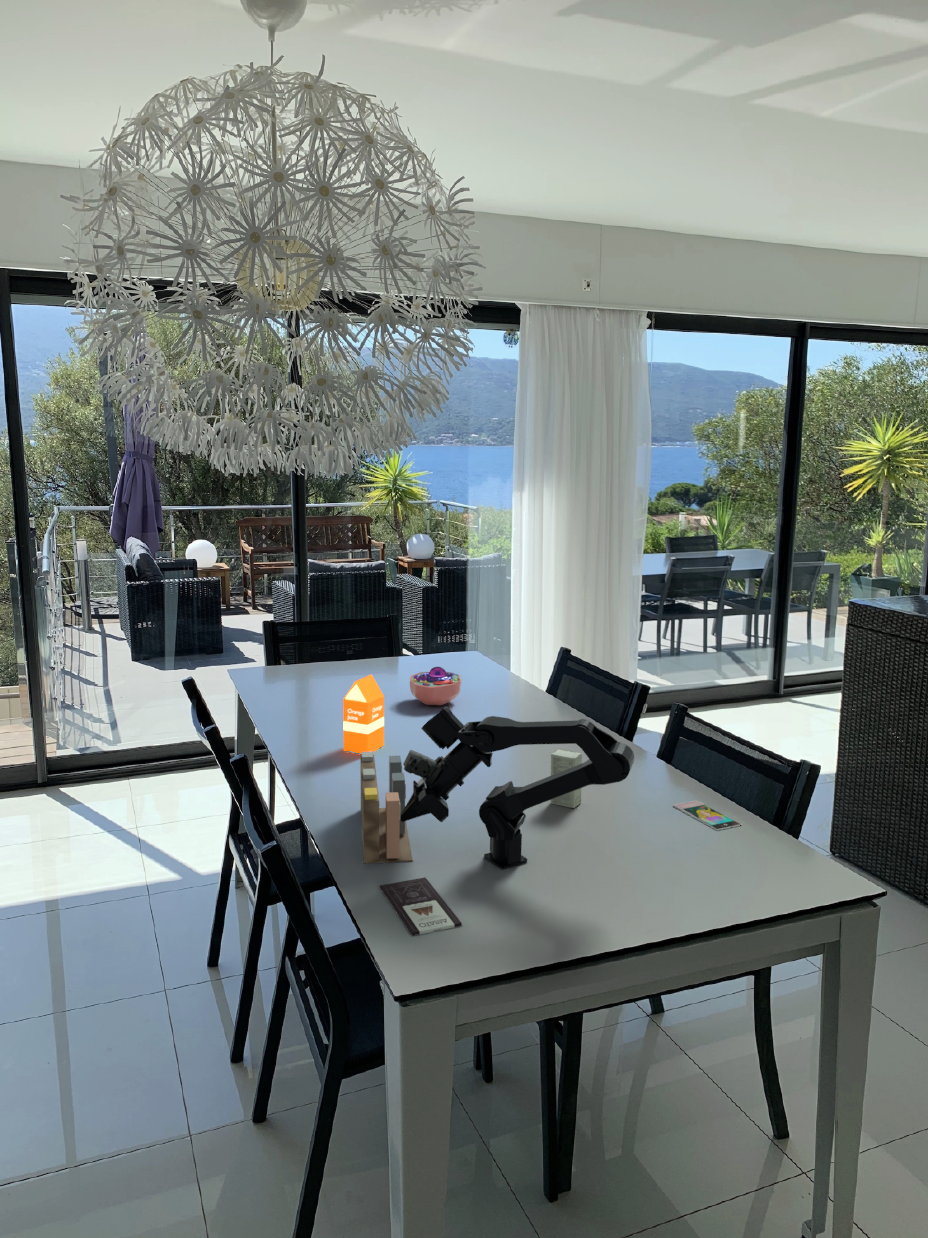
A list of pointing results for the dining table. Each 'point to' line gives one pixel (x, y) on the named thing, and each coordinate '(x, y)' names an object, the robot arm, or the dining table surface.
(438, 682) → the cell model
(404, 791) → the middle slate key
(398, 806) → the terracotta key
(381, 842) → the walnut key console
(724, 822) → the smartphone
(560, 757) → the skincare box
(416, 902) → the chocolate bar
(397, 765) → the key
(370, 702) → the orange juice
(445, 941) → the dining table surface
